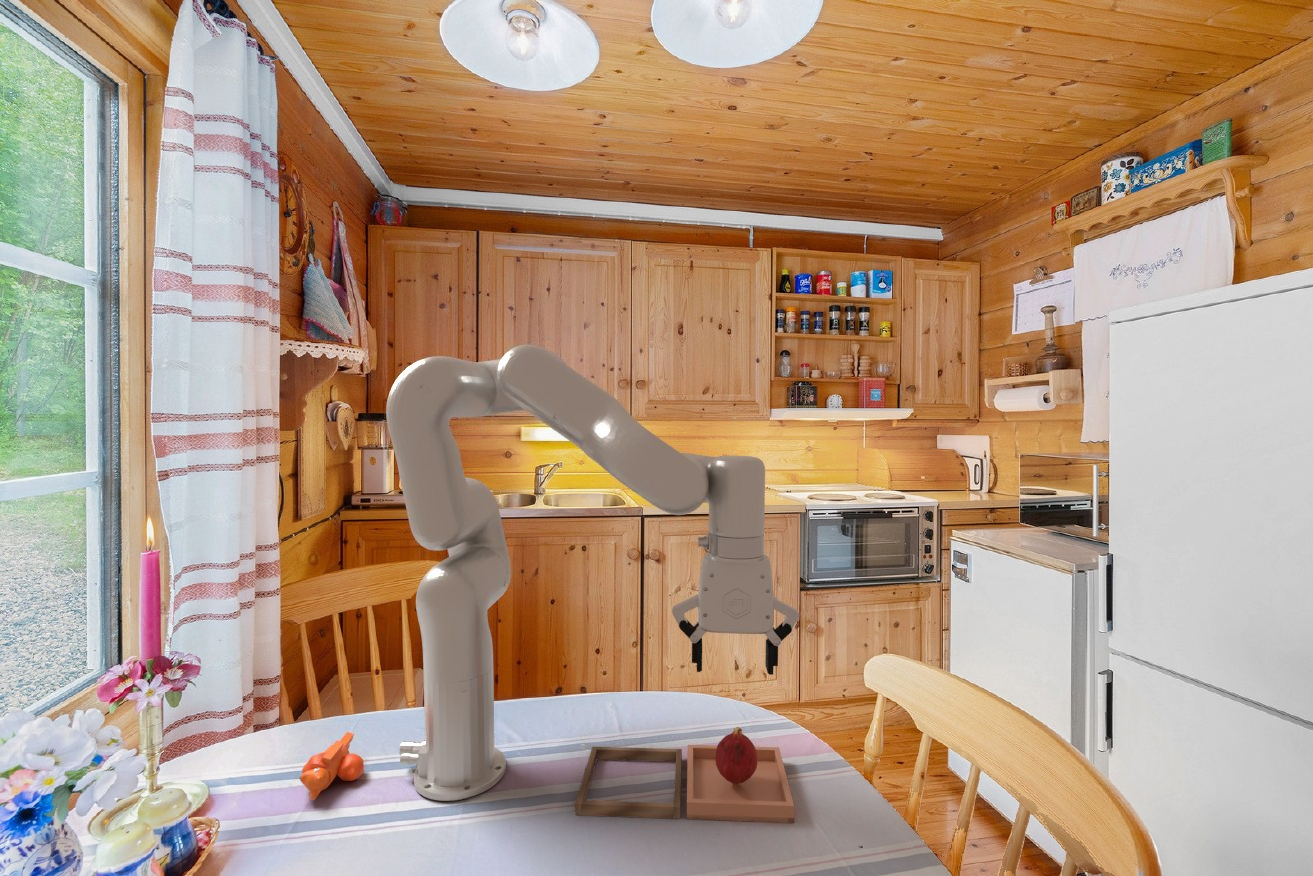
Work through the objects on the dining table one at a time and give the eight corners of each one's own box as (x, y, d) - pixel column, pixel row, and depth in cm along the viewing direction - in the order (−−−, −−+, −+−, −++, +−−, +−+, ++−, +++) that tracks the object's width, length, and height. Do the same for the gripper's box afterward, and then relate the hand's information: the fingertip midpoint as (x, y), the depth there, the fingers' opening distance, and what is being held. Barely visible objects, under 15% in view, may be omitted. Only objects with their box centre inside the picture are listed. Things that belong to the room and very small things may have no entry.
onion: (756, 800, 81) (758, 743, 80) (713, 795, 82) (714, 738, 81) (756, 772, 86) (758, 719, 86) (716, 767, 87) (717, 715, 87)
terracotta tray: (686, 819, 78) (686, 802, 78) (687, 759, 91) (687, 744, 91) (794, 823, 77) (794, 806, 77) (779, 761, 90) (779, 747, 90)
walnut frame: (575, 815, 79) (574, 803, 78) (592, 756, 92) (592, 746, 92) (679, 818, 78) (679, 807, 78) (681, 758, 91) (681, 749, 91)
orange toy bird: (335, 720, 92) (295, 766, 80) (383, 734, 93) (351, 781, 81) (325, 752, 92) (283, 802, 80) (373, 765, 93) (339, 816, 81)
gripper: (671, 550, 80) (670, 679, 80) (805, 554, 78) (802, 684, 79) (673, 539, 87) (672, 656, 88) (795, 542, 86) (793, 660, 87)
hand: (734, 669), depth 83 cm, fingers open, 9 cm apart
